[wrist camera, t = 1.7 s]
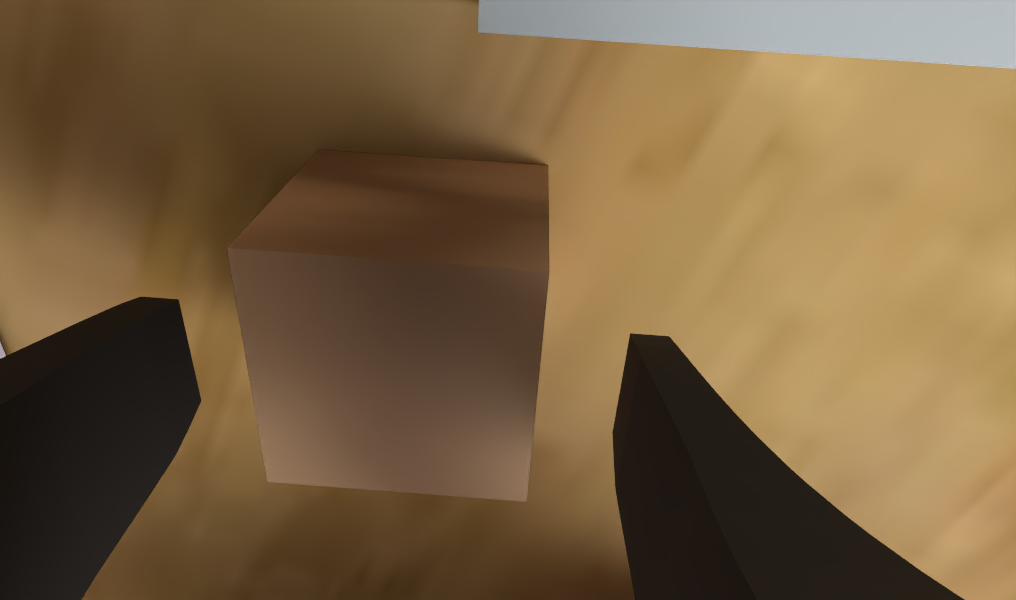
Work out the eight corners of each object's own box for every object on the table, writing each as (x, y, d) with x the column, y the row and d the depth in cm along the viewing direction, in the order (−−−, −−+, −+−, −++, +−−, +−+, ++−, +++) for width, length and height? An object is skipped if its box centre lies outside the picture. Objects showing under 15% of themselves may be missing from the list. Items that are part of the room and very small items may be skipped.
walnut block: (336, 338, 16) (267, 481, 12) (320, 148, 13) (226, 248, 9) (531, 352, 15) (526, 501, 12) (548, 163, 13) (549, 271, 9)
